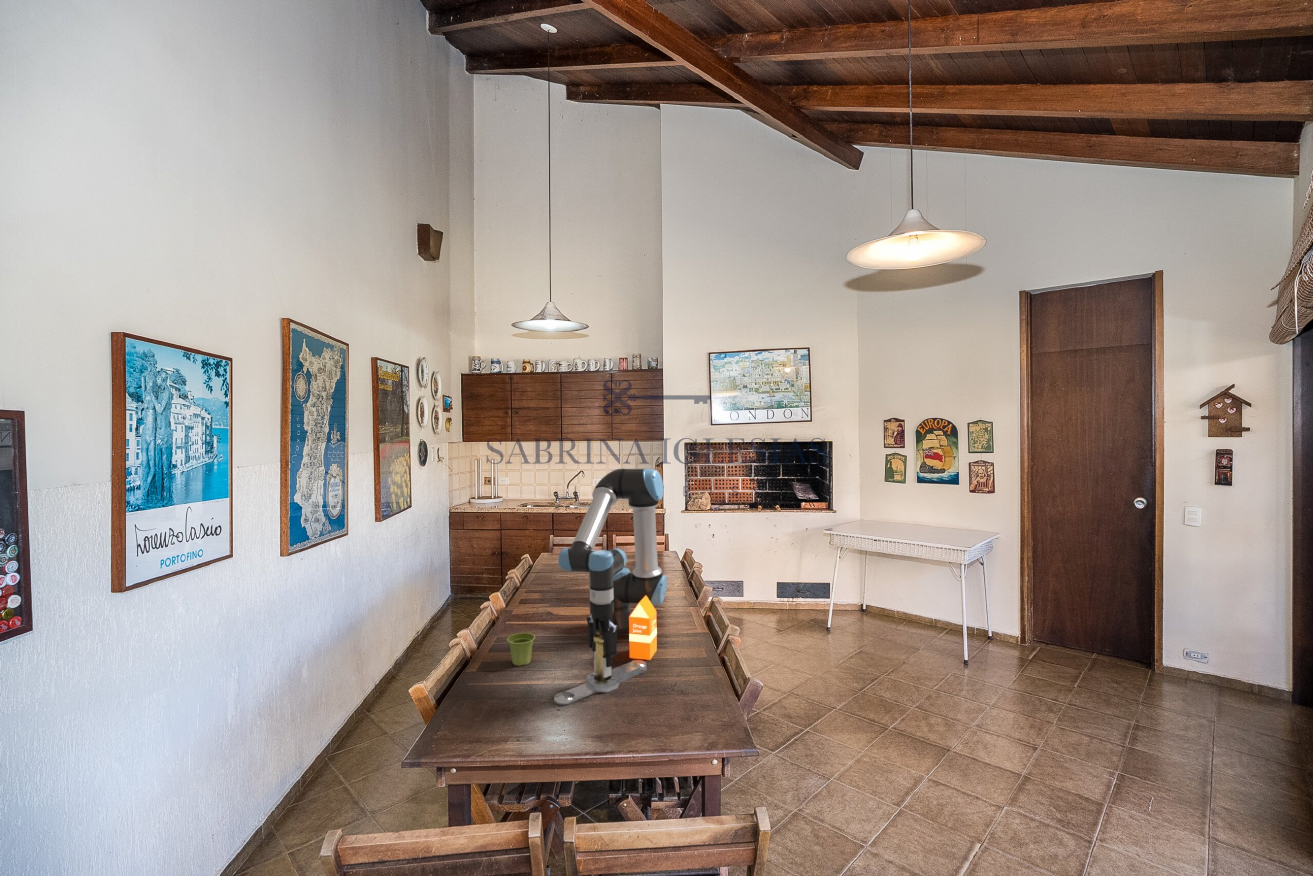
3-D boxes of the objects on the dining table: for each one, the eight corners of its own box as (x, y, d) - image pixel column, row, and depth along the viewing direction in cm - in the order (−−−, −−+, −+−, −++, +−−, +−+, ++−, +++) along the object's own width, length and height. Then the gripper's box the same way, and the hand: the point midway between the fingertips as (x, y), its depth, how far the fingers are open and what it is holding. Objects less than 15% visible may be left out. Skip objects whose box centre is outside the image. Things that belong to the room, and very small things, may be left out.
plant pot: (540, 658, 207) (540, 634, 206) (526, 669, 198) (525, 644, 197) (517, 655, 210) (517, 631, 209) (502, 666, 201) (501, 641, 201)
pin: (591, 683, 186) (590, 636, 186) (604, 678, 190) (603, 632, 189) (601, 688, 183) (600, 641, 182) (614, 683, 186) (613, 636, 185)
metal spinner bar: (565, 710, 171) (565, 702, 171) (546, 698, 178) (546, 690, 178) (654, 672, 194) (654, 665, 194) (634, 663, 202) (634, 656, 202)
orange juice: (657, 650, 213) (656, 595, 212) (650, 660, 205) (649, 603, 204) (636, 648, 215) (635, 594, 214) (629, 657, 207) (628, 601, 206)
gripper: (576, 597, 189) (577, 668, 190) (608, 610, 176) (610, 686, 177) (595, 592, 194) (596, 662, 195) (628, 604, 181) (629, 678, 182)
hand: (602, 673), depth 186 cm, fingers closed on pin, 4 cm apart
